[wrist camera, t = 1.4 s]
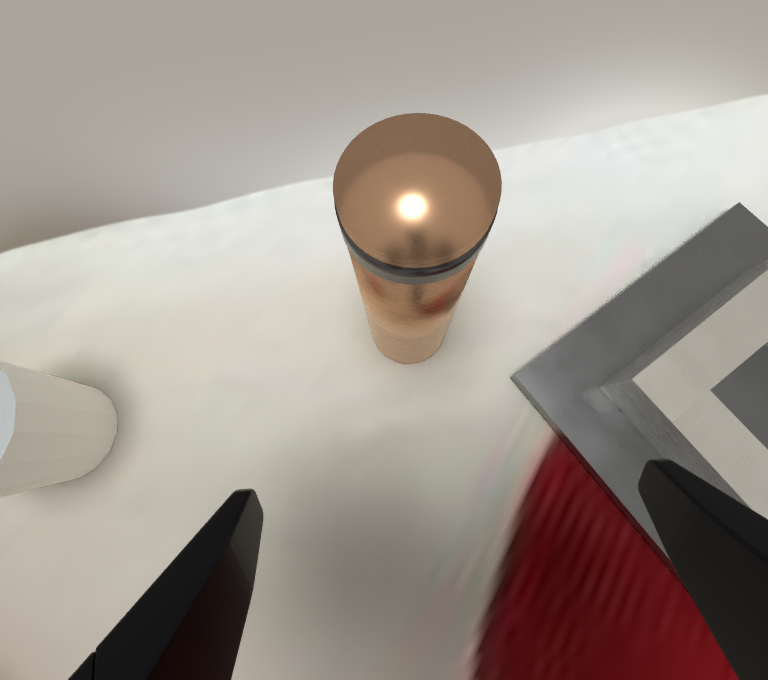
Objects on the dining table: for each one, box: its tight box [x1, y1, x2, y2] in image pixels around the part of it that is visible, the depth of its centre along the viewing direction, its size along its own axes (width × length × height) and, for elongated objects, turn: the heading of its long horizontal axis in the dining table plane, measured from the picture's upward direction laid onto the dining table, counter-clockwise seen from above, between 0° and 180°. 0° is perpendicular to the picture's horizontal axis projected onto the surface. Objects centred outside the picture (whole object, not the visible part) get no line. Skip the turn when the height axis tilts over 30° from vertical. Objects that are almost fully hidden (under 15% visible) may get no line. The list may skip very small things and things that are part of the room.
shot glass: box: [0, 361, 117, 497], centre depth 20 cm, size 7×7×7 cm
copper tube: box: [333, 113, 502, 364], centre depth 17 cm, size 4×4×14 cm
